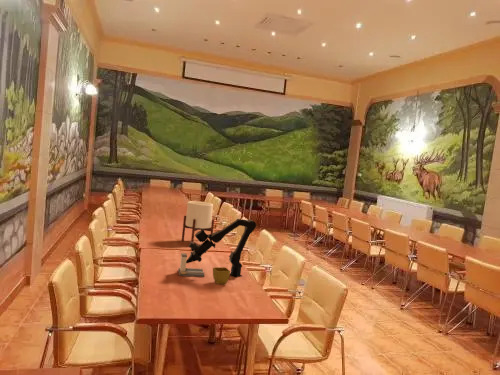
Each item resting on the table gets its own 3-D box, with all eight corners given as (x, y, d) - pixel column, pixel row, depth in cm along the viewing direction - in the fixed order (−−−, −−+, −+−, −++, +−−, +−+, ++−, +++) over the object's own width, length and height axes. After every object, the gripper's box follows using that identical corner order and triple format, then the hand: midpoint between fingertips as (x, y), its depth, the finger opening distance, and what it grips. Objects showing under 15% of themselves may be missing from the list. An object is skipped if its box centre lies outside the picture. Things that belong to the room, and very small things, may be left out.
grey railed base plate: (202, 271, 286) (202, 267, 286) (204, 276, 275) (204, 273, 274) (178, 270, 282) (178, 266, 282) (179, 275, 271) (179, 272, 271)
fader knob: (184, 269, 281) (186, 253, 280) (185, 272, 274) (187, 255, 274) (179, 269, 280) (181, 253, 279) (180, 271, 273) (181, 255, 273)
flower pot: (211, 281, 267) (212, 267, 266) (224, 280, 270) (225, 267, 270) (215, 285, 259) (217, 271, 258) (228, 285, 262) (230, 271, 262)
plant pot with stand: (213, 245, 373) (217, 205, 371) (190, 246, 360) (194, 204, 358) (201, 239, 392) (205, 201, 389) (179, 240, 379) (183, 200, 376)
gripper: (195, 235, 286) (177, 250, 284) (198, 241, 268) (179, 257, 266) (205, 247, 289) (187, 262, 287) (209, 254, 271) (190, 270, 269)
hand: (186, 262), depth 277 cm, fingers closed, pressing on fader knob
